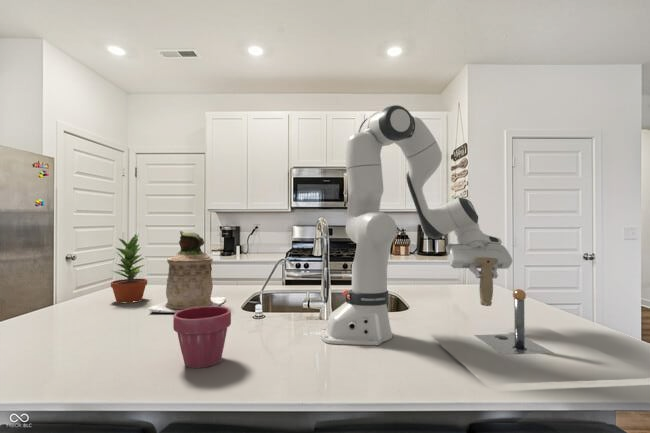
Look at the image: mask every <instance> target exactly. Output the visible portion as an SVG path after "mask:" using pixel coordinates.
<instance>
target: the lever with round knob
mask: <svg viewBox="0 0 650 433" xmlns="http://www.w3.org/2000/svg"><path fill="white" fill-rule="evenodd" d="M512 297H513V299H514V300H513V301H514V308H513V309H514V334H515V348H516V349H521V350H523V349H525V338H526V337H525V332H526V331H525V299H526V298H527V294H526V291H524V290H523V289H520V288H516V289H515V290H513V293H512Z"/></svg>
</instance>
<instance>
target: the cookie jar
mask: <svg viewBox="0 0 650 433" xmlns="http://www.w3.org/2000/svg"><path fill="white" fill-rule="evenodd" d="M179 233H180V236H179V241H178V244H179V246H180V251H178V252H177V253H176V254H174V255H173V256H172V257H168V258H167V261H166V262H167V263H168V273H167V279H166V288H165V296H166V299H167V300H166V301H165V302H162V303H157V304H156V305H153V306H150V307H148V311H149V312H150V313H152V312H153V313H170V314H171V313H174V314H175V313H177V312H179V311H181V310H185V309H189V308H195V307H205V306H220V305H222V304H223V303H225V301H226V300H227V298H226V297H223V296H214V297H213V296H212V294H213V293H212V292H213V287H214V286H213V277H212V269H213V268H212V263H213V260H214V259H213V257H212V256H211V257H210V255H209V254H207V253H204V252H203V251H202V249H201V247H202V246H203V245H205V240H204V238H203V237H201V236H200V234H198V233H197V232H184V231H183V230H180V231H179ZM150 313H149V314H150ZM153 313H152V314H153Z"/></svg>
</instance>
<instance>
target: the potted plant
mask: <svg viewBox="0 0 650 433" xmlns="http://www.w3.org/2000/svg"><path fill="white" fill-rule="evenodd" d="M139 235H140V234H139V233H138V234H137V235H135V236H134V235H133V237H132V238H131V239H130V241H129V242H128V243H127V242H126V241H125V240H124V239H122V238H119V237H117V238H118V240H119V241H120V242H121V243H122V244H123V246H124V247H125V249H124V248H119V247H115V249H116V250H117V251H119V252H120V253H119V252H117V254H118V256H119V257H120V260H119V261H120V262H121V263H116V262H115V265H117V266H119V267H121V268H122V269H118V270H110V271H111V272H113V273H115V274H118V275H120V276H123V277H124V278H123V279H118V280H116V279H115V280H112V281H111V282H110V288H111V289H112V291H113V292H112V293H113V295H114V299H115V302H116V301H117V302H133V301H138V302H140V301H139V300H141V299H142V300H143V296H144V293H145V290H146V286H147V285H148V279H147V278H136V276H137V275H138V274H140V273H142V272H143V270H140V268H142V267H144V266H145V265H146V264H142V265H139V266H135V264H137V263H139V262H140V261H142V260H144V259H145V257H142V258H139V257H141V256H142V255H143V254H142V253H140V254H139V255H138V254H137V253H138V251H140V250H141V248H142V247H139V246H140V243H138V241H139V239H138V238H139ZM137 243H138V244H137ZM121 254H122V255H121ZM123 256H124V257H123ZM138 258H139V259H138ZM142 300H141V301H142ZM117 302H116V303H117Z"/></svg>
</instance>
